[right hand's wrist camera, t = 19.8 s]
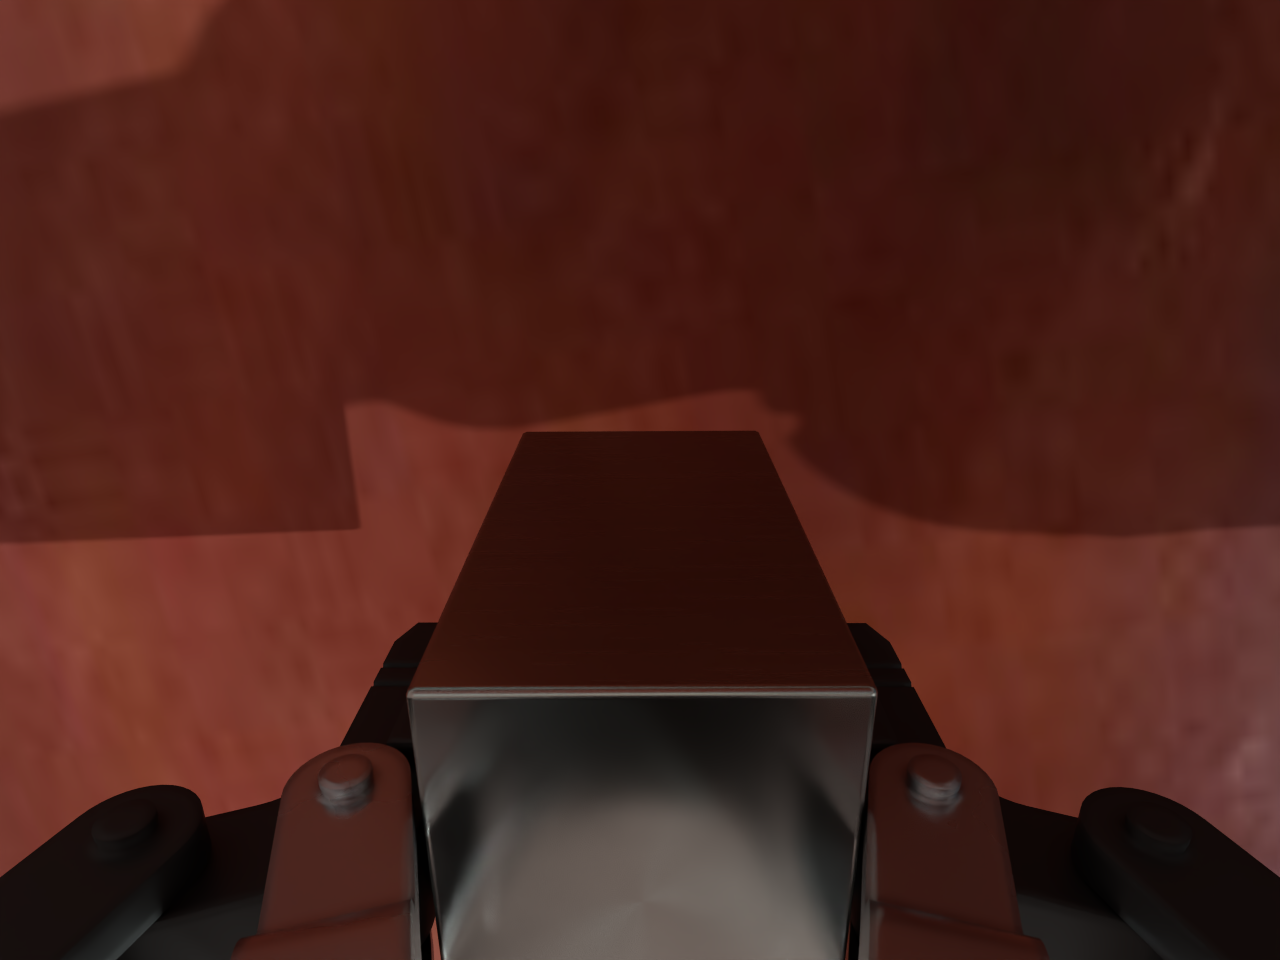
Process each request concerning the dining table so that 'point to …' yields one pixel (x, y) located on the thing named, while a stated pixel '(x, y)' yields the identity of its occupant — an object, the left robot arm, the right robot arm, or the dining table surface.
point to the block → (642, 714)
